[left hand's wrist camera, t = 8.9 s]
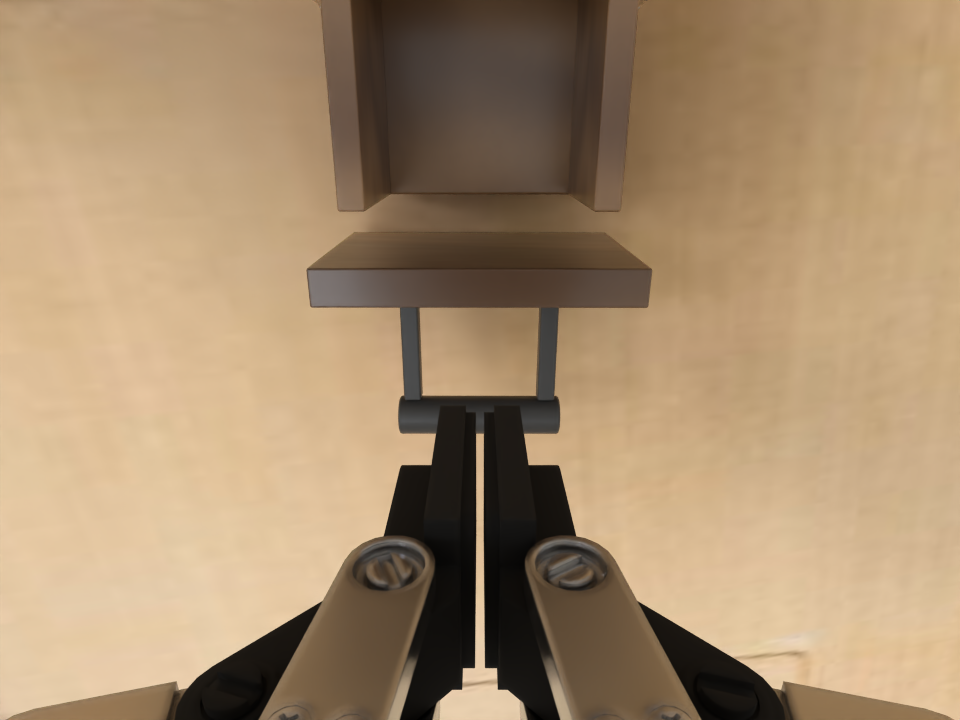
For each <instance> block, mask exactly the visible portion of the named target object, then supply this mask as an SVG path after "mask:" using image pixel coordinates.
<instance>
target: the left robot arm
mask: <svg viewBox="0 0 960 720" xmlns="http://www.w3.org/2000/svg"><path fill="white" fill-rule="evenodd" d="M475 608H476V412H466V405H440V411H439V418H438V425H437V431H436V438H435V445H434V452H433V459H432V465H402V466H401V468H400V471H399V475H398V479H397V483H396V488H395V492H394V496H393V500H392V504H391V508H390V513H389V517H388V521H387V525H386V529H385V533H384V537H379V538H374V539H372V540H370V541H367V542H365V543H363V544H361V545H360V546H358V547H357V548H356V549H354V550H353V551H352V552H351V553H350V554H349V556H348V557H347V558H346V559H345V561H344V563H343V565H342V566H341V568H340V570H339V572H338V574H337V576H336V578H335V579H334V581H333V583H332V585H331V587H330V589H329V590H328V592H327V594H326V596H325V598H324V600H323V601H322V602H320V603H319V604H317V605H315V606H313V607H312V608H310V609H308V610H307V611H305V612H303V613H302V614H300V615H298V616H297V617H295V618H293V619H292V620H290V621H288V622H287V623H285V624H283V625H281V626H280V627H278V628H276V629H275V630H273V631H271V632H270V633H268V634H266V635H265V636H263V637H261V638H260V639H258V640H256V641H255V642H253V643H251V644H250V645H248V646H246V647H244V648H243V649H241V650H239V651H238V652H236V653H234V654H233V655H231V656H229V657H228V658H226V659H224V660H223V661H221V662H219V663H218V664H216V665H214V666H213V667H211V668H210V669H208V670H207V671H206V672H204V673H203V674H202V675H200V676H199V677H198V678H197V679H196V680H195V681H194V682H193V683H192V684H191V685H190V686H189V688H187V689H182V690H179V689H178V685H177V681H176V682H171V683H166V684H160V685H155V686H150V687H145V688H140V689H135V690H129V691H124V692H119V693H114V694H109V695H104V696H98V697H93V698H88V699H83V700H78V701H73V702H67V703H62V704H57V705H52V706H47V707H42V708H36V709H33V710H30V711H26V712H23V713H20V714H17V715H14V716H12V717H10V718H8V719H7V720H439V718H440V700H441V699H442V698H443V697H444V696H445V695H447V694H448V693H449V692H450V691H451V690H462V678H463V668H475ZM484 608H485V668H497V678H498V690H509V691H510V692H511V693H512V694H513V695H515V696H516V697H517V698H518V699H519V700H520V718H521V720H953V719H952V718H950V717H948V716H946V715H943V714H940V713H937V712H934V711H930V710H927V709H924V708H918V707H913V706H908V705H903V704H898V703H893V702H887V701H882V700H877V699H872V698H867V697H862V696H856V695H851V694H846V693H841V692H836V691H831V690H825V689H820V688H815V687H810V686H805V685H800V684H794V683H789V682H784V681H783V685H782V689H781V690H778V689H773V688H771V686H770V685H769V684H768V683H767V682H766V681H765V680H764V679H763V678H762V677H761V676H760V675H758V674H757V673H756V672H754V671H753V670H752V669H750V668H749V667H747V666H746V665H744V664H742V663H741V662H739V661H737V660H736V659H734V658H732V657H731V656H729V655H727V654H726V653H724V652H722V651H721V650H719V649H717V648H716V647H714V646H712V645H710V644H709V643H707V642H705V641H704V640H702V639H700V638H699V637H697V636H695V635H694V634H692V633H690V632H689V631H687V630H685V629H684V628H682V627H680V626H679V625H677V624H675V623H673V622H672V621H670V620H668V619H667V618H665V617H663V616H662V615H660V614H658V613H657V612H655V611H653V610H652V609H650V608H648V607H647V606H645V605H643V604H641V603H640V602H638V601H637V600H636V598H635V596H634V594H633V592H632V590H631V589H630V587H629V585H628V583H627V581H626V579H625V578H624V576H623V574H622V572H621V570H620V568H619V566H618V565H617V563H616V561H615V559H614V558H613V557H612V556H611V554H610V553H609V552H608V551H607V550H606V549H604V548H603V547H602V546H600V545H599V544H597V543H595V542H593V541H590V540H588V539H586V538H581V537H576V533H575V529H574V525H573V521H572V517H571V513H570V508H569V504H568V500H567V496H566V492H565V488H564V484H563V479H562V475H561V471H560V468H559V466H558V465H528V459H527V452H526V445H525V438H524V431H523V425H522V418H521V411H520V405H494V412H484Z"/></svg>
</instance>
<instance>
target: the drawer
mask: <svg viewBox="0 0 960 720" xmlns="http://www.w3.org/2000/svg"><path fill="white" fill-rule="evenodd" d="M638 4H639V0H320V5H321V17H322V29H323V40H324V52H325V64H326V76H327V88H328V100H329V112H330V124H331V135H332V147H333V159H334V171H335V183H336V195H337V207H338V211H365V210H367V209H368V208H370V207H372V206H373V205H375V204H376V203H378V202H379V201H381V200H382V199H384V198H385V197H387V196H388V195H390V194H569V195H571V196H572V197H574V198H575V199H577V200H578V201H580V202H581V203H583V204H584V205H586V206H587V207H589V208H590V209H592V210H593V211H595V212H619V211H620V210H621V202H622V191H623V179H624V167H625V156H626V144H627V132H628V121H629V109H630V98H631V86H632V74H633V63H634V51H635V39H636V28H637V16H638ZM651 276H652V269H651V268H650V267H648V266H647V265H646V264H644V263H643V262H642V261H641V260H639V259H638V258H637V257H635V256H634V255H633V254H632V253H630V252H629V251H628V250H626V249H625V248H624V247H623V246H621V245H620V244H619V243H617V242H616V241H615V240H614V239H612V238H611V237H610V236H608V235H607V234H606V233H445V232H354V233H353V234H351V235H350V236H349V237H348V238H346V239H345V240H344V241H342V242H341V243H340V244H338V245H337V246H336V247H335V248H333V249H332V250H331V251H329V252H328V253H327V254H325V255H324V256H323V257H321V258H320V259H319V260H318V261H316V262H315V263H314V264H312V265H311V266H310V267H308V268H307V279H308V288H309V298H310V306H311V307H379V308H400V318H401V338H402V358H403V379H404V396H401V398H400V401H399V410H398V422H399V430H400V432H401V433H436V431H437V425H438V418H439V411H440V405H466V412H476V434H484V412H494V405H520V411H521V418H522V425H523V431H524V434H556V433H558V431H559V428H560V404H559V399H558V397H557V396H554V390H555V371H556V352H557V332H558V313H559V308H647V307H648V303H649V294H650V285H651ZM419 308H539V329H538V354H537V380H536V396H422V393H423V391H422V364H421V337H420V311H419Z"/></svg>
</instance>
